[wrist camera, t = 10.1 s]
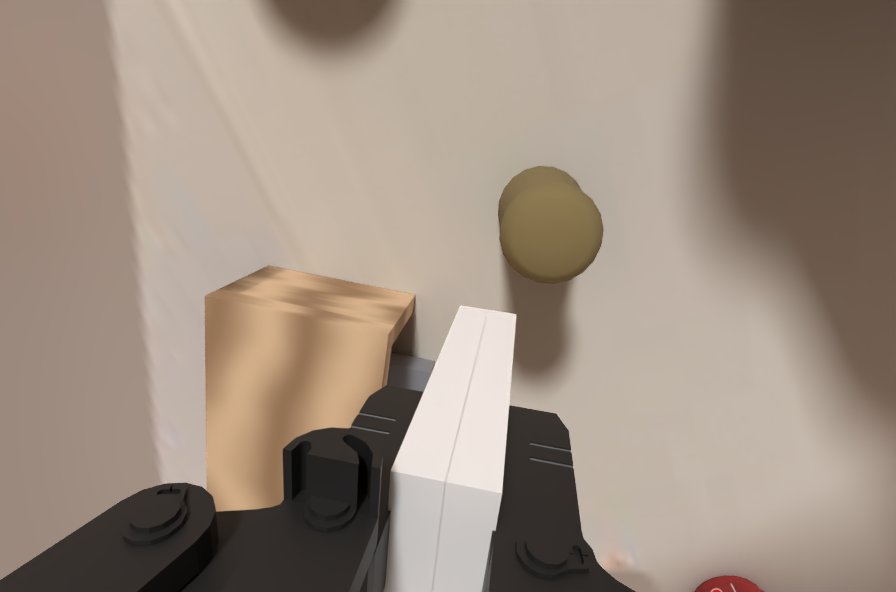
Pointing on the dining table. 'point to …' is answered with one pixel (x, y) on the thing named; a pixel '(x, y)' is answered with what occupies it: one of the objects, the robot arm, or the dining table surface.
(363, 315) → the oak shelf
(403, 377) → the slate board
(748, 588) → the smoothie
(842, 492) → the dining table surface
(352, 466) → the robot arm
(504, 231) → the cork
